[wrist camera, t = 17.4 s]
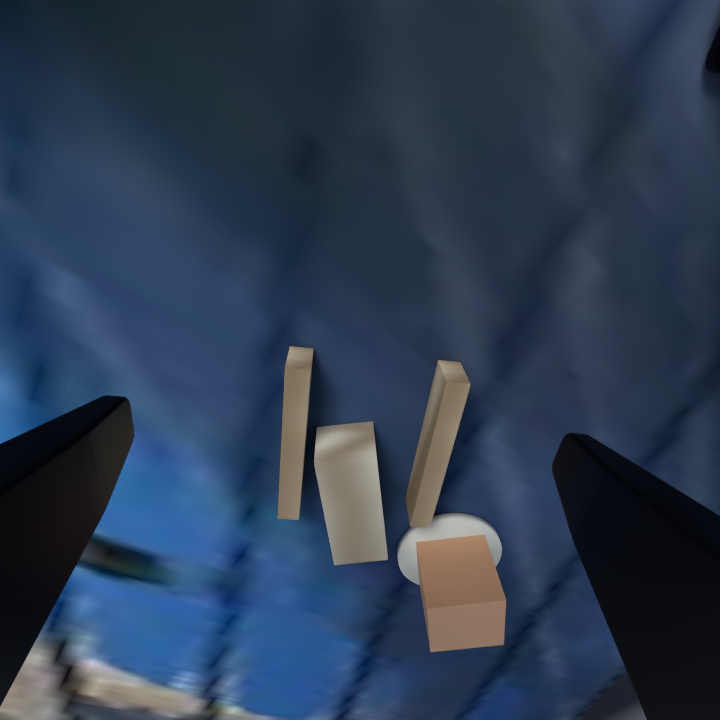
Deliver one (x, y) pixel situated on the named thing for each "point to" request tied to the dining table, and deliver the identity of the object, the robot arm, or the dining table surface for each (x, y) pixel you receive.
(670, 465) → the dining table surface
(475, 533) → the white flat disc
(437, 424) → the channel
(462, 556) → the block
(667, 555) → the robot arm
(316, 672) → the dining table surface
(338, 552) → the beige rectangular block
